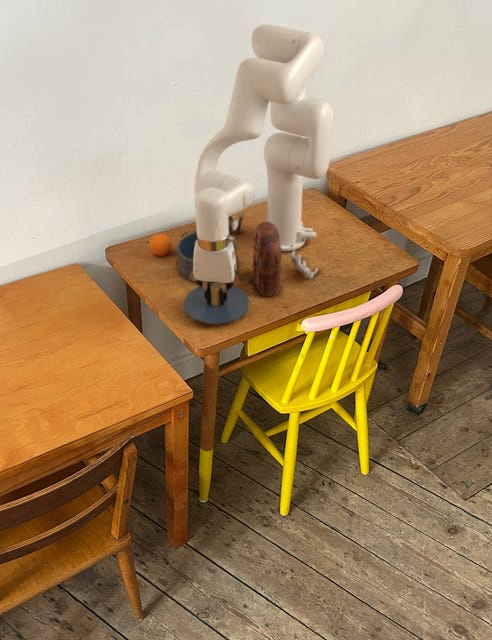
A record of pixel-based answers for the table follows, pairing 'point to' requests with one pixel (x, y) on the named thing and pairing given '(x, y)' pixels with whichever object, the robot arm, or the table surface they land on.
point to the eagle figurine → (235, 223)
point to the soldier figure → (303, 266)
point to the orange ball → (160, 244)
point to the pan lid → (216, 305)
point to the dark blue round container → (189, 254)
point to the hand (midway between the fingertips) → (216, 300)
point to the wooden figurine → (267, 259)
